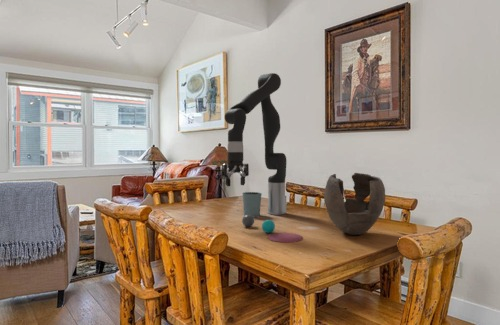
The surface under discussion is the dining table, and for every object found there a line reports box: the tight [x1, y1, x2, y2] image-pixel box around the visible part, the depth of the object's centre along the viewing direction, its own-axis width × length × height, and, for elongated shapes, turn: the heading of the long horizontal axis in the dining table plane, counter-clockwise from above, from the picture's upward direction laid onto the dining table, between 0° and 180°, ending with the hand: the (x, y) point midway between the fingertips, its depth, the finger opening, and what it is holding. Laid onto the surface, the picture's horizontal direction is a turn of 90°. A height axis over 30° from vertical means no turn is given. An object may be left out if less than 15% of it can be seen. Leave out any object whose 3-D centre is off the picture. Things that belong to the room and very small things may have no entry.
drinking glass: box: [242, 191, 263, 218], centre depth 180 cm, size 10×10×12 cm
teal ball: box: [261, 219, 276, 234], centre depth 143 cm, size 6×6×6 cm
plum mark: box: [267, 232, 303, 243], centre depth 135 cm, size 14×14×1 cm
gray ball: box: [241, 215, 255, 228], centre depth 154 cm, size 6×6×6 cm
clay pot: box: [323, 172, 386, 236], centre depth 139 cm, size 24×24×25 cm
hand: (235, 185), depth 161 cm, fingers open, 7 cm apart
